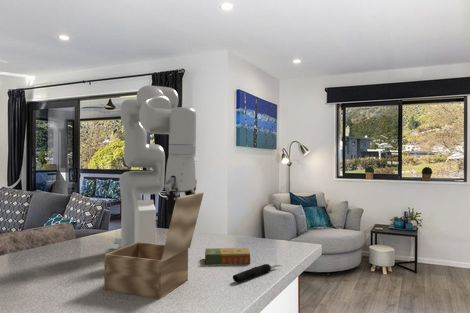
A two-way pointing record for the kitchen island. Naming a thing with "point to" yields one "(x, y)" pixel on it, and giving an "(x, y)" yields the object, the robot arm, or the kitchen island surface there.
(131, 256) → the wooden box
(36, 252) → the kitchen island surface
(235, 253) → the carton
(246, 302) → the kitchen island surface
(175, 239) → the lid flap
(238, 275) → the black handled hook tool
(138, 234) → the milk
